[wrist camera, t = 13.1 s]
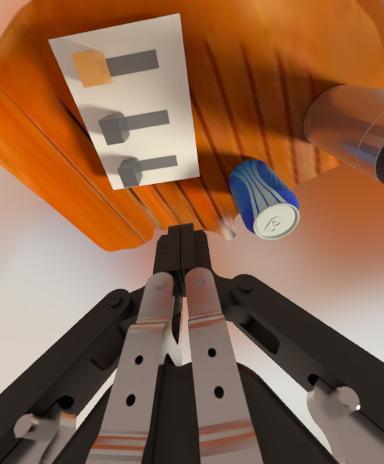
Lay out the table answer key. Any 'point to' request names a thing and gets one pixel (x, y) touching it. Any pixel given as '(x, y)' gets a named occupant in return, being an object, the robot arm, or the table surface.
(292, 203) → the beer can
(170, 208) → the table surface
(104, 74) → the block
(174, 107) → the breaker panel
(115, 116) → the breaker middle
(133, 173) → the block
